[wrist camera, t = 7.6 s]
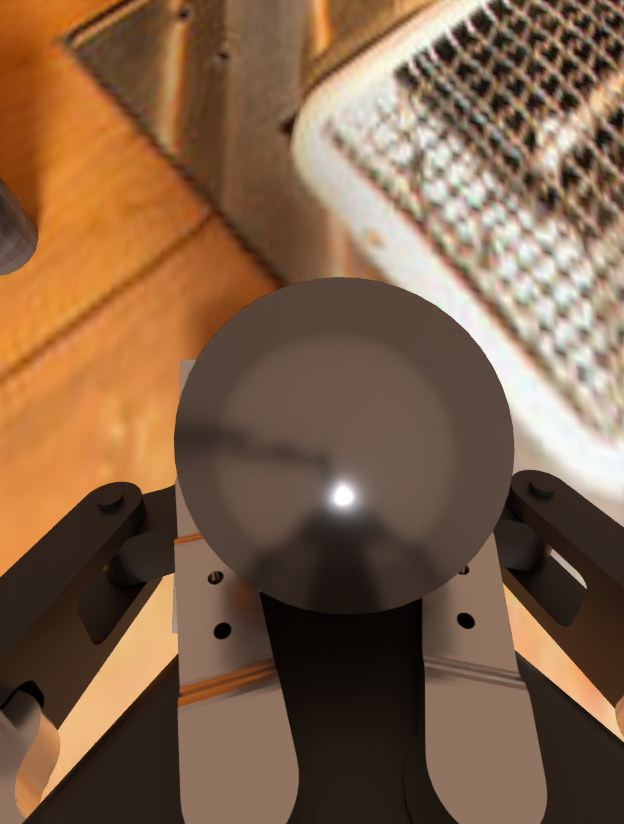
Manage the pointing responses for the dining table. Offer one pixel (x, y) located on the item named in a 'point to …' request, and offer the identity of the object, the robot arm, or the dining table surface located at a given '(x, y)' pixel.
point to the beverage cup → (14, 233)
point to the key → (344, 446)
